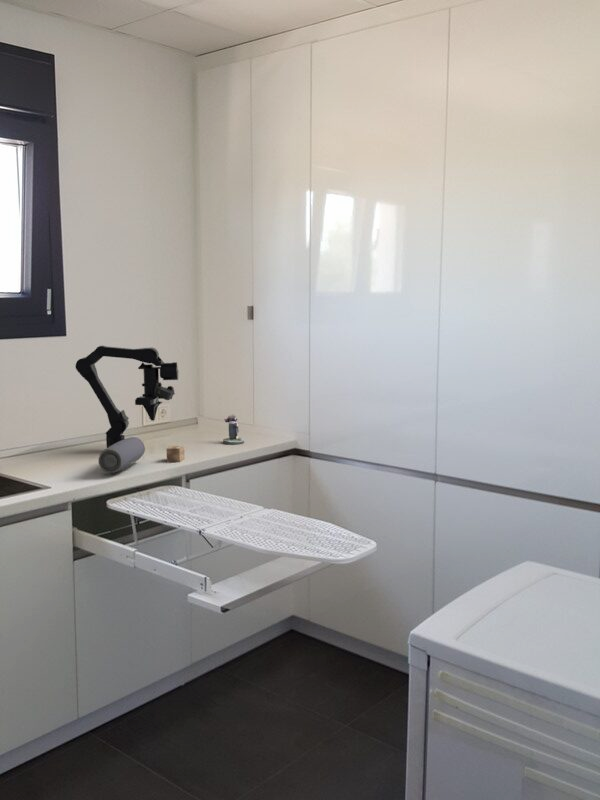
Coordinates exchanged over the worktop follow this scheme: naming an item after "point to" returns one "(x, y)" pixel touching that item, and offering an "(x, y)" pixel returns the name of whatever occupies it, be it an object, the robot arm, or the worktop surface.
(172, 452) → the letter block
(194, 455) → the worktop surface
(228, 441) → the figurine
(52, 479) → the worktop surface
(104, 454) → the bluetooth speaker
